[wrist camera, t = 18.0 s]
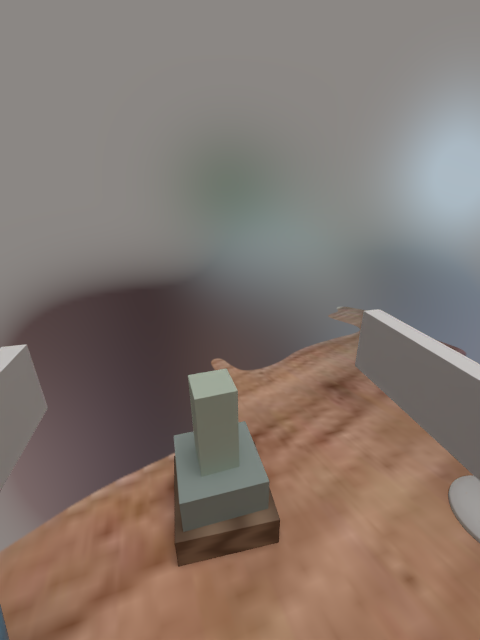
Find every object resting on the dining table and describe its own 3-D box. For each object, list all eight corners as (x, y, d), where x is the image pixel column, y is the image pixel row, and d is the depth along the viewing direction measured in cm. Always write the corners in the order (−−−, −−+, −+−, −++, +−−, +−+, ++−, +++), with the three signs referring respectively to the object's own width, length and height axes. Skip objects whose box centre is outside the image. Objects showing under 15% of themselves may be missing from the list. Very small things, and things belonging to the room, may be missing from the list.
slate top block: (183, 532, 36) (179, 504, 34) (176, 460, 46) (173, 435, 44) (268, 508, 39) (269, 481, 37) (245, 445, 49) (245, 421, 47)
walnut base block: (178, 568, 37) (174, 543, 35) (177, 478, 49) (174, 456, 47) (278, 544, 39) (279, 519, 37) (254, 464, 51) (254, 442, 49)
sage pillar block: (201, 476, 38) (194, 399, 33) (195, 447, 42) (187, 375, 37) (239, 466, 39) (237, 390, 34) (229, 439, 43) (226, 368, 39)
